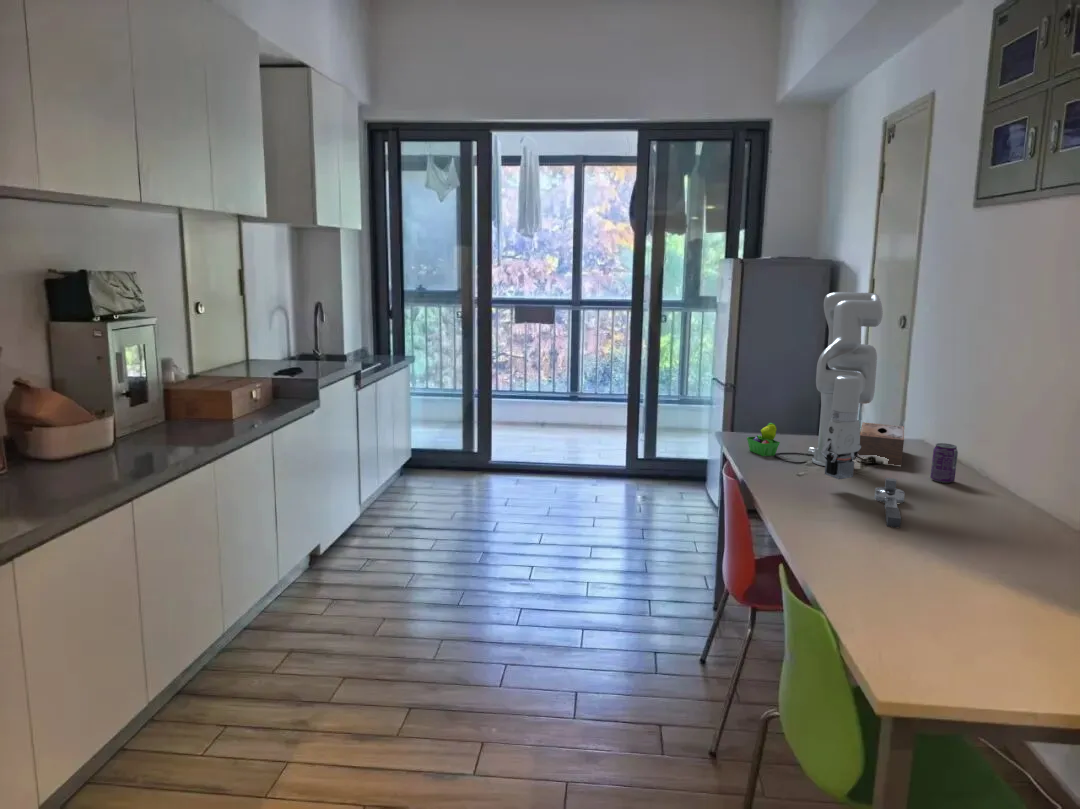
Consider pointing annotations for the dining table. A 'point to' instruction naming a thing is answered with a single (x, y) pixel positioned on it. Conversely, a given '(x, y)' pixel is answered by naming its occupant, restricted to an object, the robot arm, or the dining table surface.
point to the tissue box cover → (882, 441)
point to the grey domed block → (842, 466)
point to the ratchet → (890, 501)
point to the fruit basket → (764, 441)
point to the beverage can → (944, 463)
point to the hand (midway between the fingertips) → (838, 472)
